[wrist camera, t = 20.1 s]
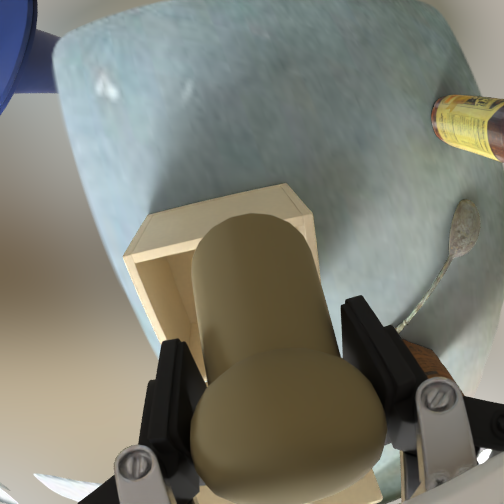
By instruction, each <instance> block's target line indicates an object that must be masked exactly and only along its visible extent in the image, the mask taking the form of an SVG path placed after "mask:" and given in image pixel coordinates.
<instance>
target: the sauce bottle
mask: <svg viewBox="0 0 504 504" xmlns="http://www.w3.org/2000/svg"><path fill="white" fill-rule="evenodd" d="M431 121H432V126H433V129H434V132H435V134H436V136H437V137H439V139H440V140H442V141H444V142H445V143H447V144H449V145H451V146H453V147H457V148H460V149H463V150H467V151H470V152H473V153H476V154H479V155H482V156H485V157H488V158H491V159H494V160H497V161H499V162H504V99H497V98H490V97H480V96H467V95H449V96H444V97H442V98H440V99H438V100H437V101H436V103H435V104H434V107H433V110H432V114H431Z"/></svg>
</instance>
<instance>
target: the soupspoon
mask: <svg viewBox="0 0 504 504" xmlns="http://www.w3.org/2000/svg"><path fill="white" fill-rule="evenodd" d="M479 232H480V216H479V212H478V209H477V207H476V205H475V204H474V203H473V202H472V201H471V200H468V199H463V200H461V201H460V202H459V204H458V206H457V208H456V210H455V213H454V216H453V220H452V224H451V230H450V236H449V256H448V258H447V260H446V262H445V264H444V266H443V268H442V270H441V271H440V273H439V275H438V276H437V278H436V280H435V281H434V283H433V284H432V286H431V287H430V289H429V290H428V291H427V293H426V294H425V296H424V297H423V299H422V300H421V301H420V303H419V304H418V305H417V307H416V308H415V309H414V311H413V312H412V313H411V314H410V316H409V317H408V318H407V319H406V320H403V323H401V324H399V326H398V327H397V328H395V330H396V331H397V332H398V334H400V331H402V330H403V329H404V327H405V325H408V322H409V321H410V320H411V319H412V318H413V317H414V315H415V314H416V313H417V312H418V311H419V309H420V308H421V307H422V306H423V304H424V303H425V301H426V300H427V299H428V297H429V296H430V295H431V293H432V292H433V290H434V289H435V287H436V286H437V284H438V283H439V282H440V280H441V279H442V277H443V275H444V274H445V272H446V271H447V269H448V267H449V265H450V263H451V262H452V260H453V258H454V257H460V256H463V255H465V254H466V253H468V252H469V251H470V250H471V249H472V248H473V246H474V245H475V243H476V241H477V239H478V236H479Z"/></svg>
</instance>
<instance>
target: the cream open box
mask: <svg viewBox="0 0 504 504" xmlns="http://www.w3.org/2000/svg"><path fill="white" fill-rule="evenodd" d="M248 213H257V214H268V215H273V216H275V217H278V218H280V219H282V220H285V221H287V222H289V223H291V224H292V225H293V226H294V227H295V228H296V229H297V230H298V231H299V232H300V233H301V234H303V236H304V238H305V240H306V242H307V244H308V246H309V247H310V249H311V252H312V255H313V259H314V262H315V265H316V269H317V272H318V276H319V279H320V270H319V260H318V251H317V243H316V234H315V226H314V218H313V213H312V212H311V211H310V210H309V209H308V207H307V206H306V205H305V204H304V203H303V202H302V200H301V199H300V198H299V197H298V196H297V195H296V193H295V192H294V191H293V190H292V189H291V188H290V187H289V185H288V184H287V183H284V184H279V185H274V186H269V187H264V188H259V189H254V190H250V191H245V192H241V193H236V194H232V195H227V196H223V197H218V198H214V199H210V200H206V201H201V202H197V203H193V204H189V205H185V206H181V207H177V208H173V209H169V210H165V211H161V212H157V213H153V214H150V215H147V217H146V218H145V220H144V222H143V223H142V225H141V226H140V228H139V230H138V231H137V233H136V235H135V236H134V238H133V240H132V241H131V243H130V245H129V246H128V248H127V250H126V252H125V253H124V255H123V259H124V262H125V264H126V267H127V269H128V272H129V274H130V277H131V279H132V281H133V284H134V286H135V289H136V291H137V293H138V296H139V298H140V300H141V303H142V305H143V307H144V309H145V312H146V314H147V316H148V318H149V320H150V323H151V325H152V327H153V329H154V331H155V333H156V335H157V338H158V340H159V342H160V344H161V345H162V342H163V341H165V340H171V339H176V338H179V339H180V341H181V342H183V341H185V342H186V343H187V345H188V347H189V349H190V352H191V354H192V356H193V358H194V360H195V362H196V365H197V367H198V369H199V371H200V373H201V375H202V377H203V379H204V381H207V377H206V371H205V366H204V360H203V354H202V348H201V341H200V335H199V329H198V322H197V315H196V308H195V301H194V294H193V287H192V279H191V268H192V258H193V255H194V253H195V251H196V248H197V246H198V243H199V242H200V241H201V239H202V238H203V237H204V236H205V235H206V234H207V233H208V232H209V231H210V230H211V228H213V227H214V226H216V225H218V224H220V223H221V222H223V221H225V220H227V219H228V218H230V217H234V216H239V215H244V214H248ZM320 283H321V279H320Z"/></svg>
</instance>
